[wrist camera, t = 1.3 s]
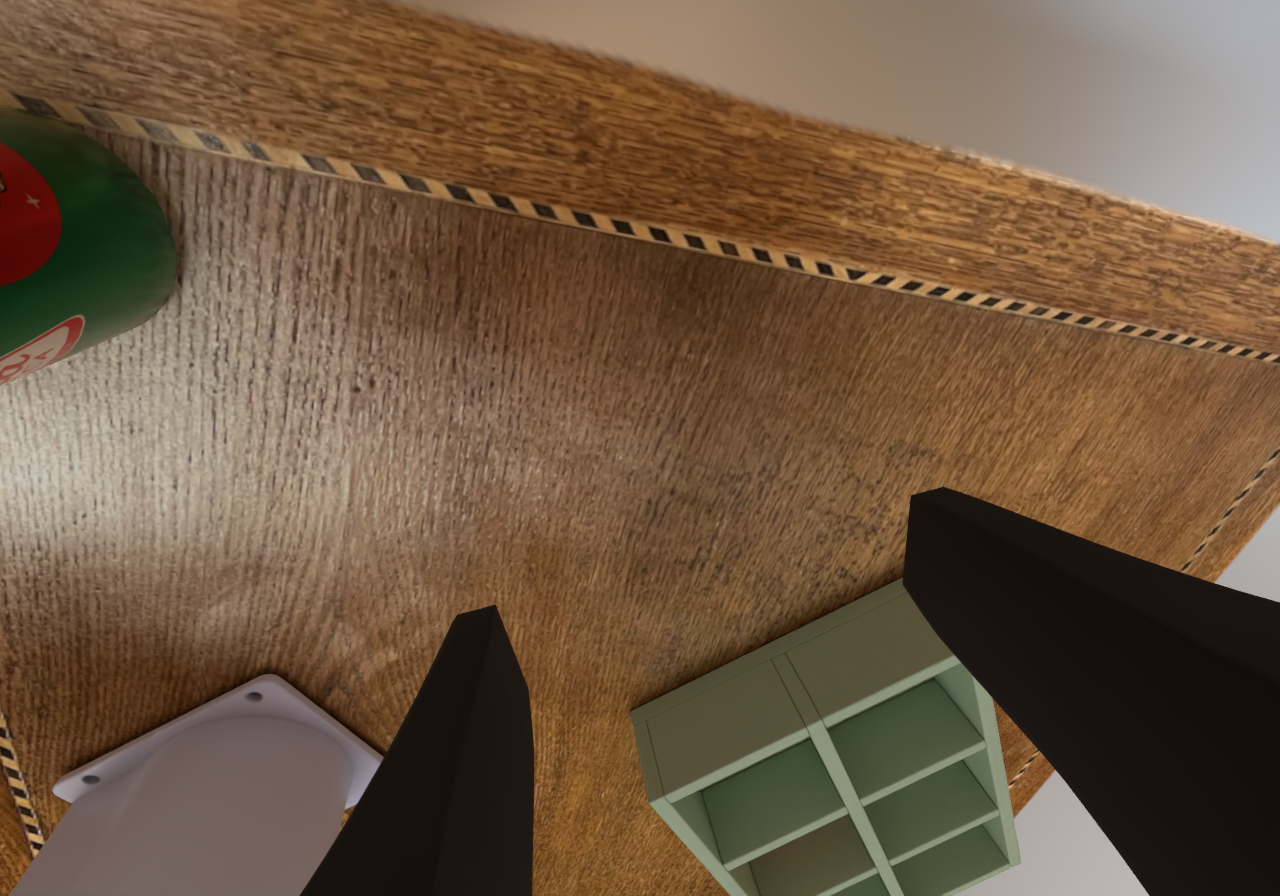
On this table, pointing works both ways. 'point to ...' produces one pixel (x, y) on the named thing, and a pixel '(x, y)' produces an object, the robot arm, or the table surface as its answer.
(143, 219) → the soda can
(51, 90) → the table surface
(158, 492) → the table surface
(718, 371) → the table surface
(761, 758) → the tray
